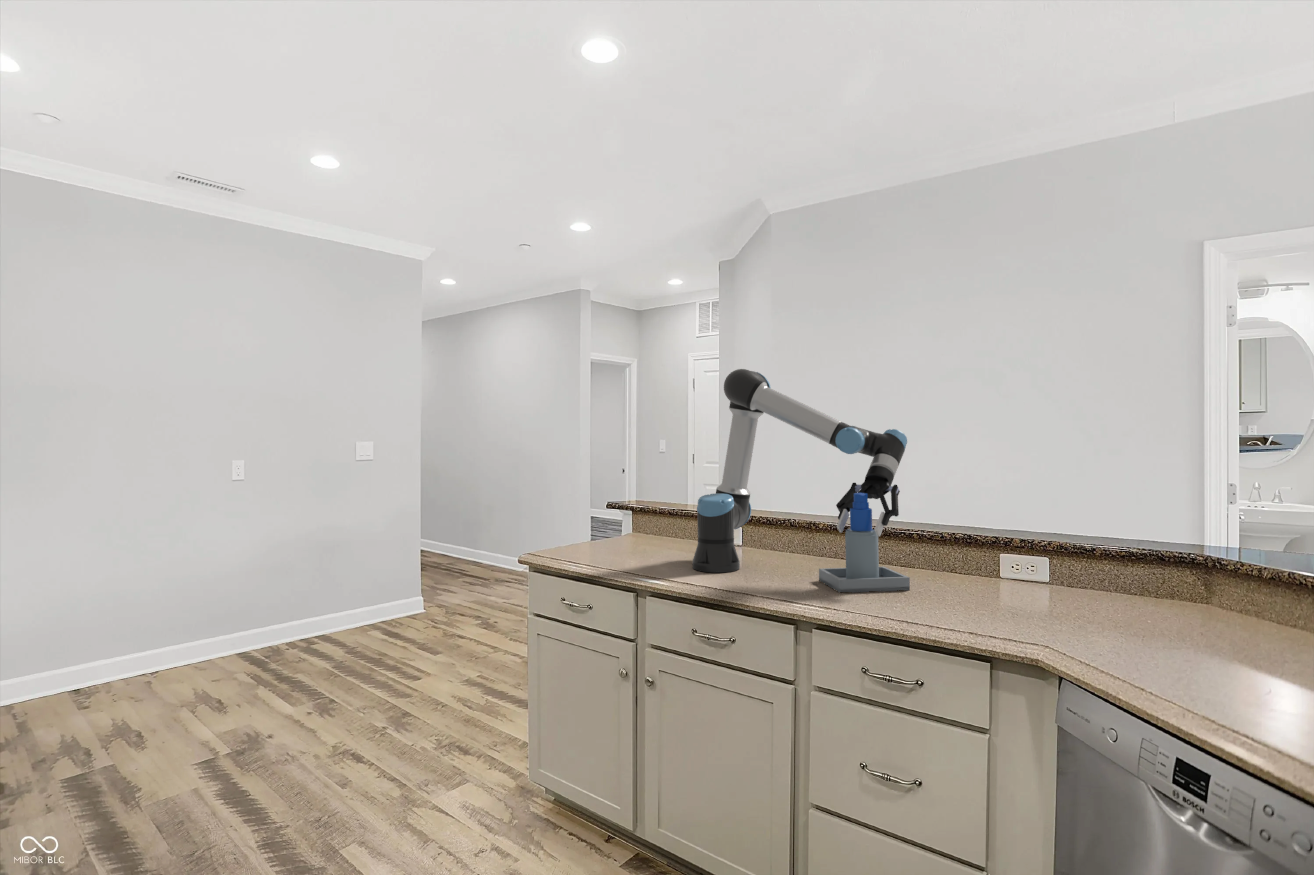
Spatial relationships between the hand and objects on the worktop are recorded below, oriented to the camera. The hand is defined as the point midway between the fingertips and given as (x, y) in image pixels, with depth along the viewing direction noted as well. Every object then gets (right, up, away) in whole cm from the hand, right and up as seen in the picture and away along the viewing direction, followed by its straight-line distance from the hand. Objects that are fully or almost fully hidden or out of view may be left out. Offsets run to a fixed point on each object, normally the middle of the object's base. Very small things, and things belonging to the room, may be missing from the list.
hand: (857, 531), depth 181 cm
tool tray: (+2, -16, +2) cm, 16 cm away
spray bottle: (+2, -15, +2) cm, 15 cm away
